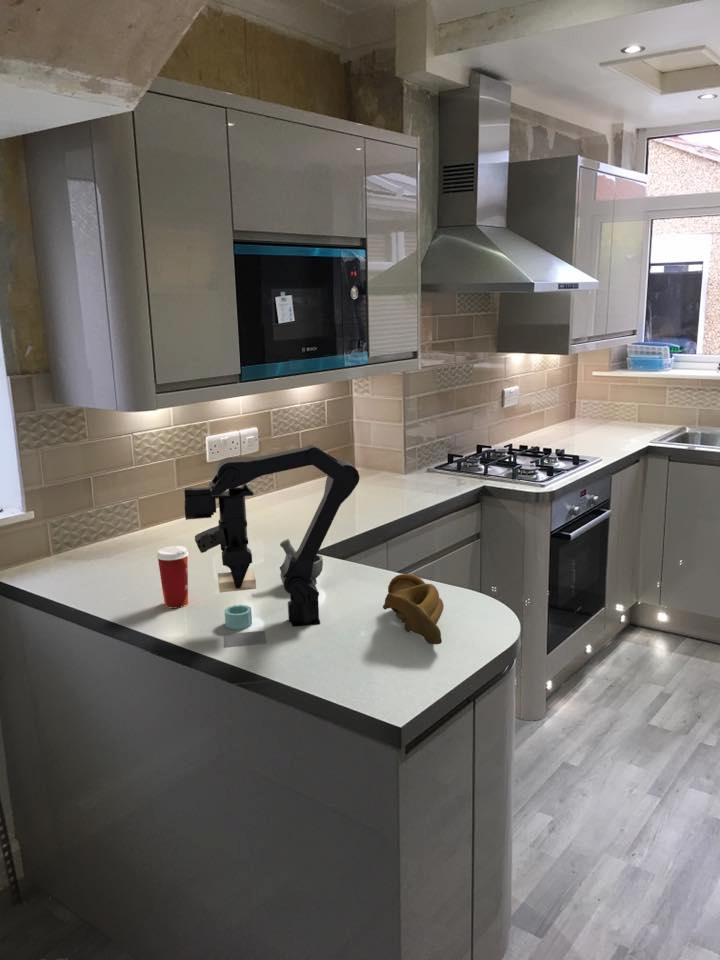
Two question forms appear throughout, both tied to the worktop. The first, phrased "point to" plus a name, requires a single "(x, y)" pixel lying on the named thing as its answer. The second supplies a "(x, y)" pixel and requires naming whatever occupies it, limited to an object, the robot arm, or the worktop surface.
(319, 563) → the mortar and pestle
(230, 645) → the mat
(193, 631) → the worktop surface
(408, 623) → the brown looped sculpture
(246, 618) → the ramekin
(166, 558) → the paper cup
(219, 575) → the board
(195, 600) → the worktop surface
